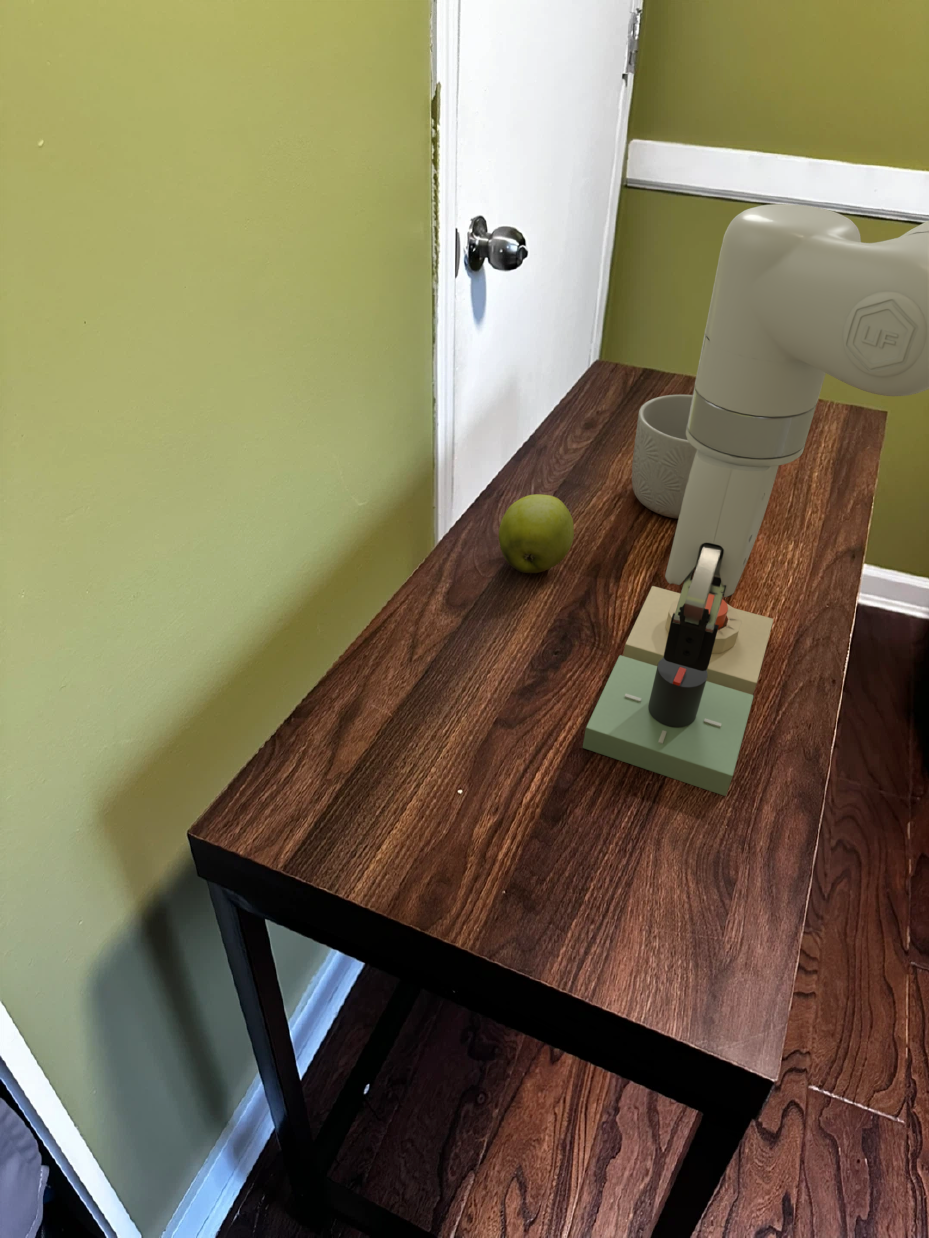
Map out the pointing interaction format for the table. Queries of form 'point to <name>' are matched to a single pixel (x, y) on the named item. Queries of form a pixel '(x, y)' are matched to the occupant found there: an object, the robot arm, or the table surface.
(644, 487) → the planter
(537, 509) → the apple
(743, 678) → the button base
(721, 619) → the stop button
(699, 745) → the dial base
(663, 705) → the dial
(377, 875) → the table surface
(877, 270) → the robot arm
